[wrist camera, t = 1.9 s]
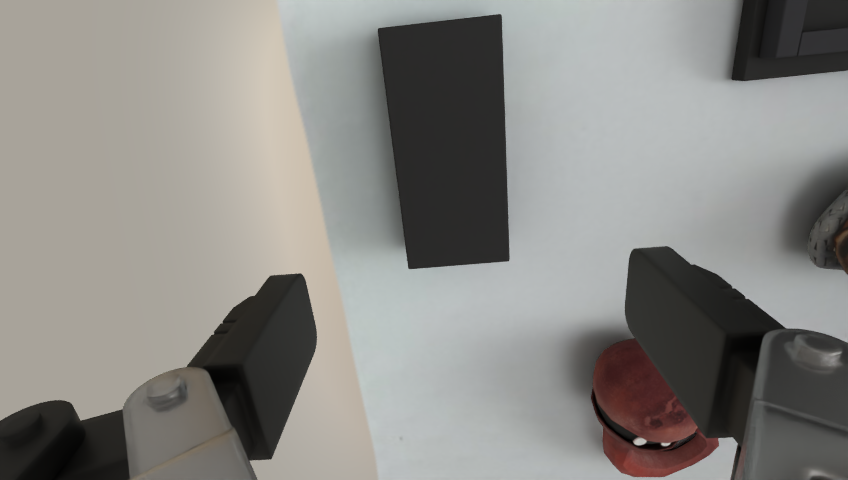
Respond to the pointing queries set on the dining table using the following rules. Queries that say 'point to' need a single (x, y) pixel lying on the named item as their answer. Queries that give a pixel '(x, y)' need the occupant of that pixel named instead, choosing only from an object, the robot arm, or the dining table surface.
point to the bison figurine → (831, 236)
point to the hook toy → (642, 415)
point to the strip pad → (449, 138)
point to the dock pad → (791, 38)
